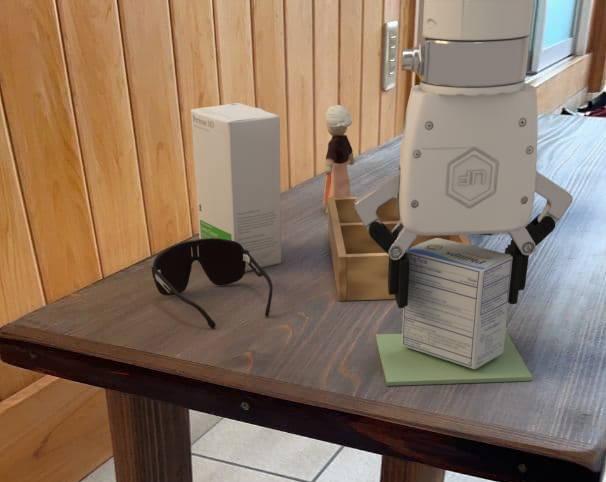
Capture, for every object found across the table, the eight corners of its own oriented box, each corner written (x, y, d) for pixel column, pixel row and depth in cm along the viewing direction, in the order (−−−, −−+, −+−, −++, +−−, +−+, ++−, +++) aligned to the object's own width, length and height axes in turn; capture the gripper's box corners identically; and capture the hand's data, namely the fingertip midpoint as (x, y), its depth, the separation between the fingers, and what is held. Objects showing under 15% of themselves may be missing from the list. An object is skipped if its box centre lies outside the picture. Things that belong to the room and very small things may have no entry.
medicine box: (504, 355, 73) (516, 254, 68) (473, 372, 70) (483, 268, 65) (431, 332, 78) (436, 235, 72) (399, 347, 75) (403, 248, 70)
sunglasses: (241, 276, 93) (240, 231, 89) (290, 325, 85) (291, 278, 82) (149, 294, 89) (144, 247, 86) (191, 347, 81) (188, 299, 78)
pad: (505, 333, 78) (505, 329, 78) (531, 381, 70) (532, 376, 70) (375, 338, 78) (375, 334, 78) (386, 386, 70) (387, 381, 70)
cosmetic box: (199, 256, 99) (185, 108, 90) (247, 245, 102) (238, 101, 93) (237, 275, 93) (226, 119, 84) (287, 263, 96) (281, 111, 87)
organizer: (438, 231, 104) (441, 193, 102) (472, 296, 86) (476, 251, 84) (328, 235, 104) (327, 197, 102) (338, 301, 86) (338, 256, 84)
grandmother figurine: (330, 202, 117) (329, 100, 109) (358, 204, 116) (359, 100, 108) (316, 218, 111) (314, 110, 103) (344, 220, 110) (344, 111, 102)
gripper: (356, 77, 58) (354, 321, 68) (610, 68, 58) (570, 313, 68) (349, 62, 64) (348, 288, 74) (578, 54, 64) (546, 281, 74)
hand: (454, 299), depth 71 cm, fingers closed on medicine box, 8 cm apart
